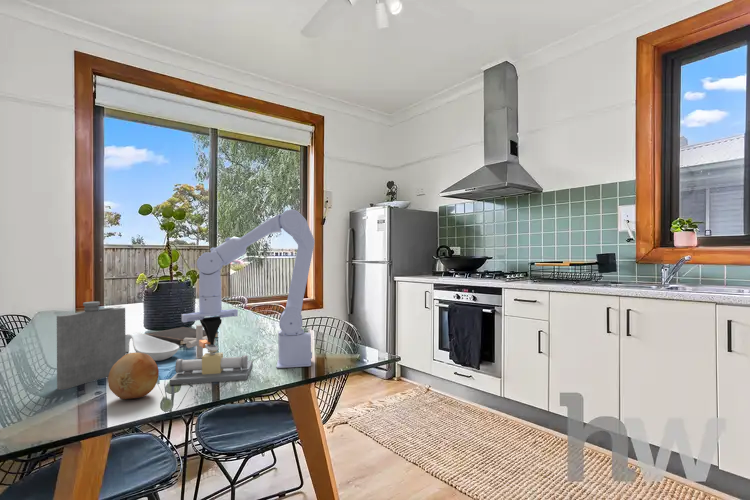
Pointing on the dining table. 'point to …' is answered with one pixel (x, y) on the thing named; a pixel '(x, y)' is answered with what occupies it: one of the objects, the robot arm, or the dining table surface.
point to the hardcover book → (176, 334)
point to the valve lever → (208, 346)
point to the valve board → (209, 377)
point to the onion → (133, 376)
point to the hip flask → (89, 344)
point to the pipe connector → (196, 341)
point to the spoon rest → (151, 346)
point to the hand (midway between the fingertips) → (210, 345)
